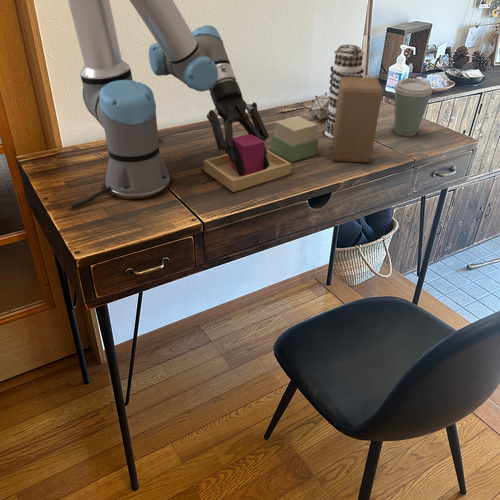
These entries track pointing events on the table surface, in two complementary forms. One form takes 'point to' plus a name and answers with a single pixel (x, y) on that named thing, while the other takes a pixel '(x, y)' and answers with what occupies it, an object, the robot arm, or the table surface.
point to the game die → (321, 106)
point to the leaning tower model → (344, 66)
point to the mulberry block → (249, 153)
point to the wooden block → (356, 119)
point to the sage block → (294, 149)
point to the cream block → (295, 130)
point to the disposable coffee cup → (410, 105)
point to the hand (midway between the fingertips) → (254, 170)
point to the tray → (234, 182)
